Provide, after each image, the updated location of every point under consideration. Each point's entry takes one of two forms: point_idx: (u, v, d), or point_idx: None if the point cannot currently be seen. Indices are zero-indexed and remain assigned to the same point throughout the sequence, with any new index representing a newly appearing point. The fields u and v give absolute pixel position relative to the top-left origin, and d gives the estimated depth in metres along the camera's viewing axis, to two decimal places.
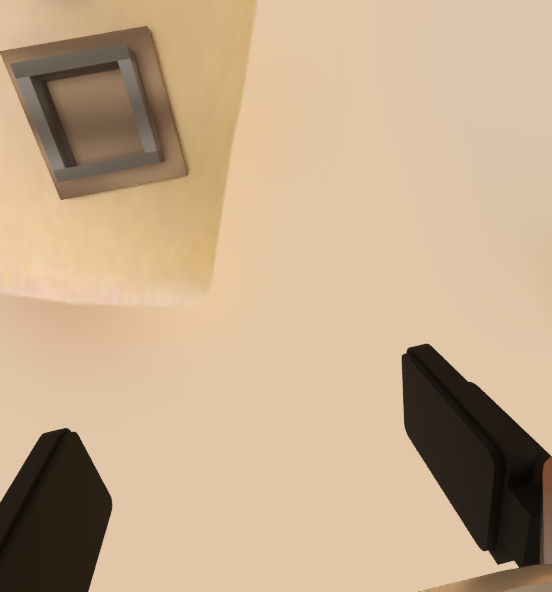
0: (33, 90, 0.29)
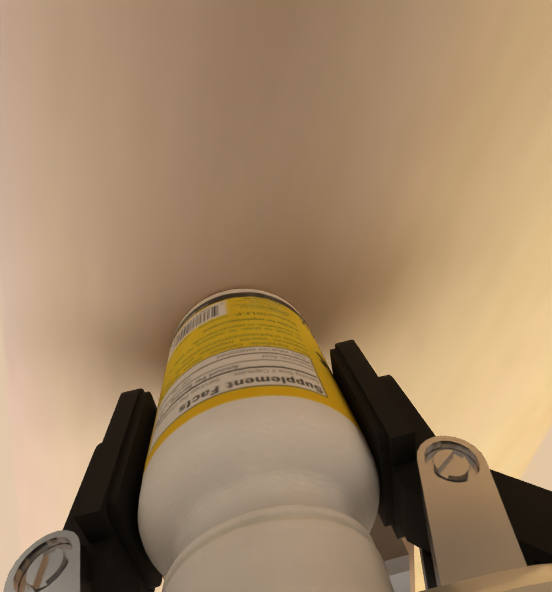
0: None
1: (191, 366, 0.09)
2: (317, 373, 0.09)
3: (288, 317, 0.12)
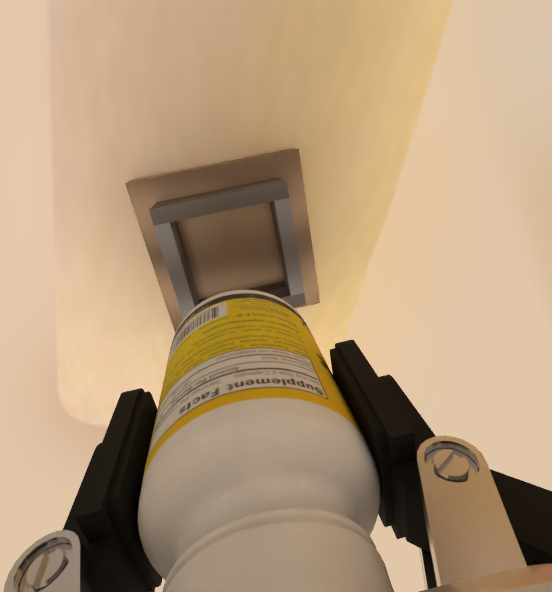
0: (172, 236, 0.24)
1: (191, 368, 0.09)
2: (317, 375, 0.09)
3: (289, 318, 0.12)
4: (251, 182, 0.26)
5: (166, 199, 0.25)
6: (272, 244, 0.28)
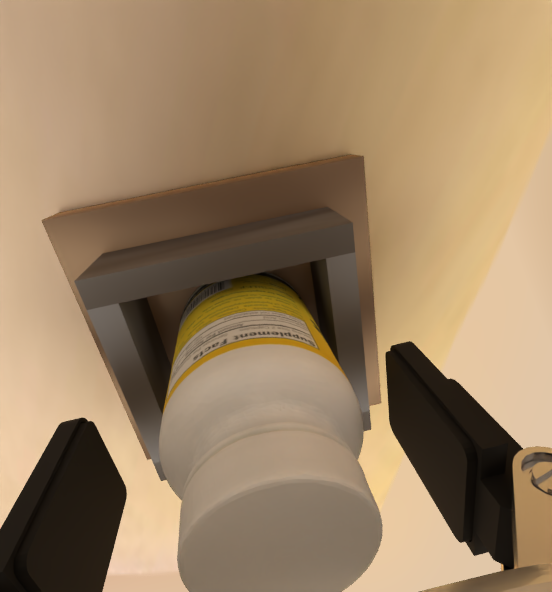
0: (125, 328, 0.12)
1: (201, 327, 0.11)
2: (310, 332, 0.11)
3: (286, 291, 0.13)
4: (276, 216, 0.14)
5: (121, 248, 0.14)
6: None
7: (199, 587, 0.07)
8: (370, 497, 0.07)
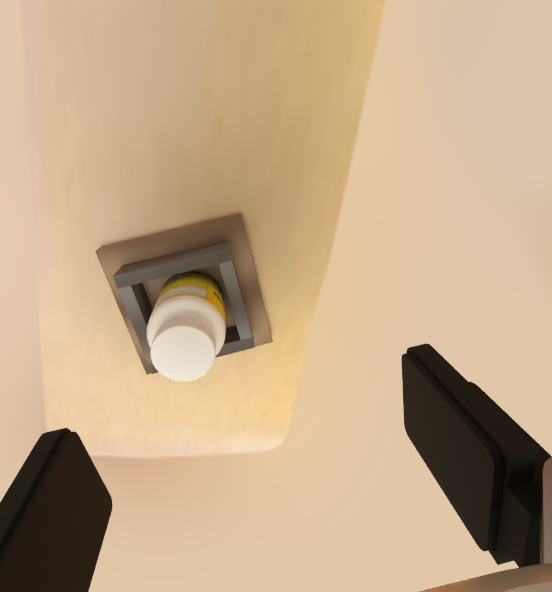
0: (134, 296, 0.28)
1: (164, 293, 0.27)
2: (207, 293, 0.26)
3: (206, 279, 0.29)
4: (203, 245, 0.30)
5: (131, 262, 0.30)
6: (225, 294, 0.32)
7: (157, 365, 0.23)
8: (208, 335, 0.23)
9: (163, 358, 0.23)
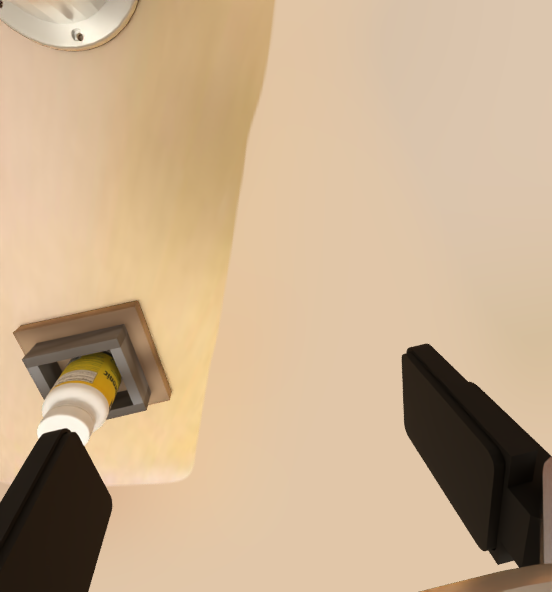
0: (40, 373, 0.35)
1: (62, 375, 0.34)
2: (95, 377, 0.33)
3: (102, 358, 0.36)
4: (103, 328, 0.37)
5: (43, 341, 0.37)
6: None
7: None
8: (82, 420, 0.30)
9: None
